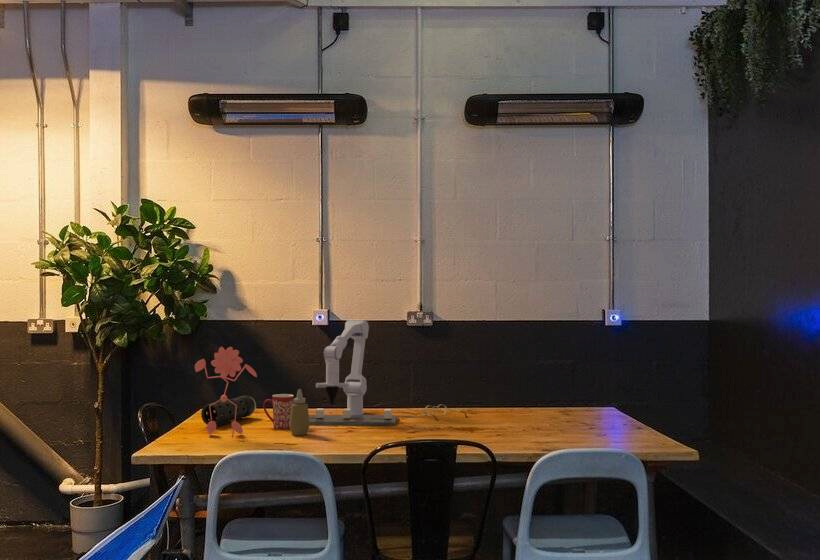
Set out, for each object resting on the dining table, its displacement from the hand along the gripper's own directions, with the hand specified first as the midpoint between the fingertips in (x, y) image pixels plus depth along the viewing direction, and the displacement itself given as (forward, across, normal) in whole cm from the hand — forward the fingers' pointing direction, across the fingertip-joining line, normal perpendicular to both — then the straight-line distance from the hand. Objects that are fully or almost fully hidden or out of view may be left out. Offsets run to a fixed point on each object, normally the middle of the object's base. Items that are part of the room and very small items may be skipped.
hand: (332, 404), depth 310 cm
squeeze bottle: (+8, -8, -30) cm, 32 cm away
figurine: (+8, -38, -31) cm, 49 cm away
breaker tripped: (+6, +6, 0) cm, 9 cm away
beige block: (+6, -6, 0) cm, 8 cm away
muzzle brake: (+8, -44, -4) cm, 45 cm away
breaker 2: (+6, +24, 0) cm, 25 cm away
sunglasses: (+8, +49, +15) cm, 52 cm away
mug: (+8, -20, -15) cm, 27 cm away
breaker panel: (+8, +8, 0) cm, 11 cm away
